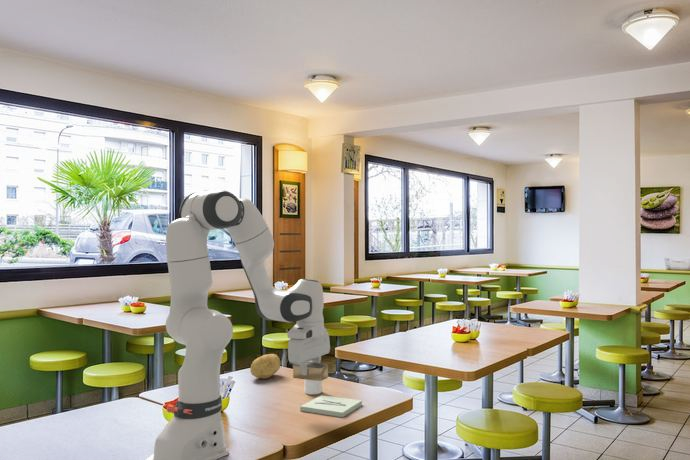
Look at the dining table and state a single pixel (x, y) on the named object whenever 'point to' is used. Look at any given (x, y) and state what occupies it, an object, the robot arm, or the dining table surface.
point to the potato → (265, 366)
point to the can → (312, 385)
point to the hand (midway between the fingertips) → (310, 372)
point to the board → (331, 406)
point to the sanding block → (312, 371)
